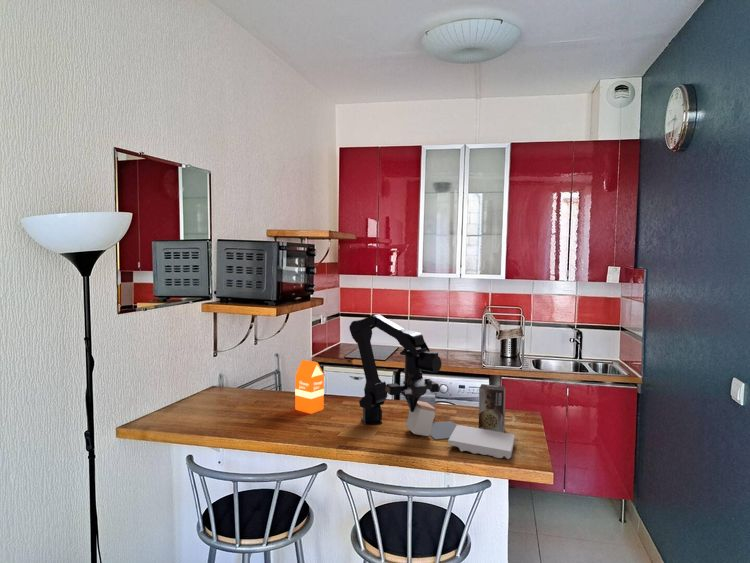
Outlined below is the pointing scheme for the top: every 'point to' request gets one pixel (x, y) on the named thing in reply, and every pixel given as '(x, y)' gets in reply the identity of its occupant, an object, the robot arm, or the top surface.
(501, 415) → the coffee box
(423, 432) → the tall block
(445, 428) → the mat
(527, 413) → the top surface
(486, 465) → the top surface
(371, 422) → the robot arm
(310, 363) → the orange juice
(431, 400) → the medicine box
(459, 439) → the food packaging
